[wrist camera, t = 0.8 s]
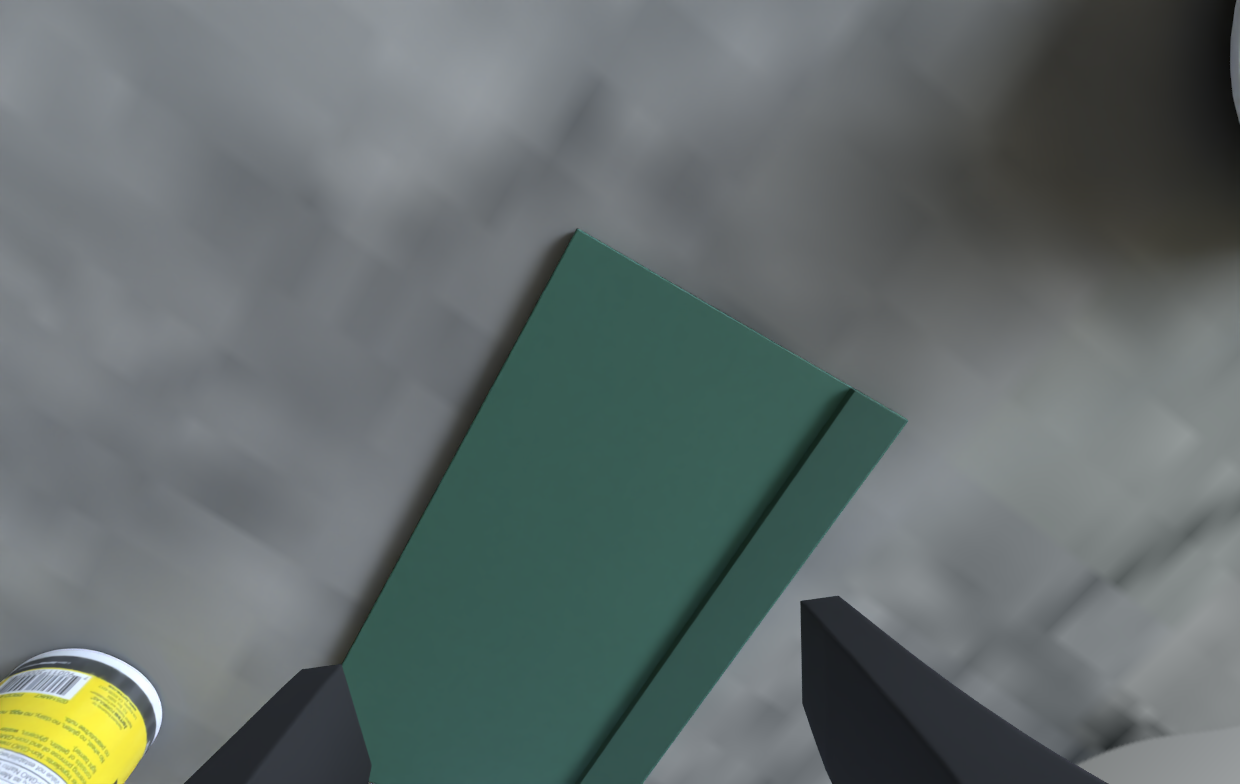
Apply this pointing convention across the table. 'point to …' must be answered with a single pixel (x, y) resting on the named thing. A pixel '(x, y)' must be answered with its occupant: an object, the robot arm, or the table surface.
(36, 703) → the supplement bottle
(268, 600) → the table surface
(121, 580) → the table surface
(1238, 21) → the flower in vase
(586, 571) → the green board
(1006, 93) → the table surface
